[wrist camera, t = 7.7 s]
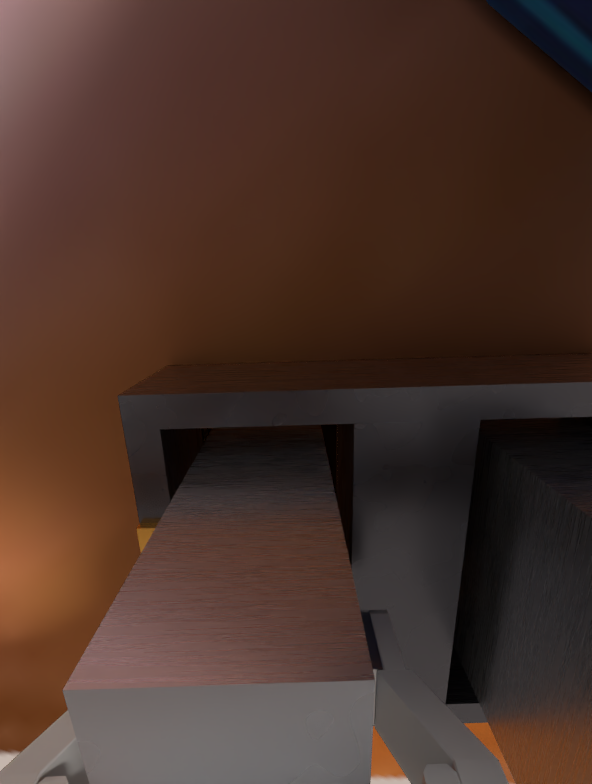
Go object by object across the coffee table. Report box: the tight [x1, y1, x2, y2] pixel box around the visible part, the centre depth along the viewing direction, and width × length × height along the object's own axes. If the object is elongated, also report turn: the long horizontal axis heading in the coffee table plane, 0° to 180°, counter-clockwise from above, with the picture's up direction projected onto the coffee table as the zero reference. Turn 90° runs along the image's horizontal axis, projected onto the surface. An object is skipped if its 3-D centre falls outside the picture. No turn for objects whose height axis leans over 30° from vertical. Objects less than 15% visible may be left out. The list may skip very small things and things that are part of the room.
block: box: [63, 425, 375, 784], centre depth 10 cm, size 9×4×9 cm, turn 2°
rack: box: [118, 353, 592, 784], centre depth 11 cm, size 13×16×9 cm
